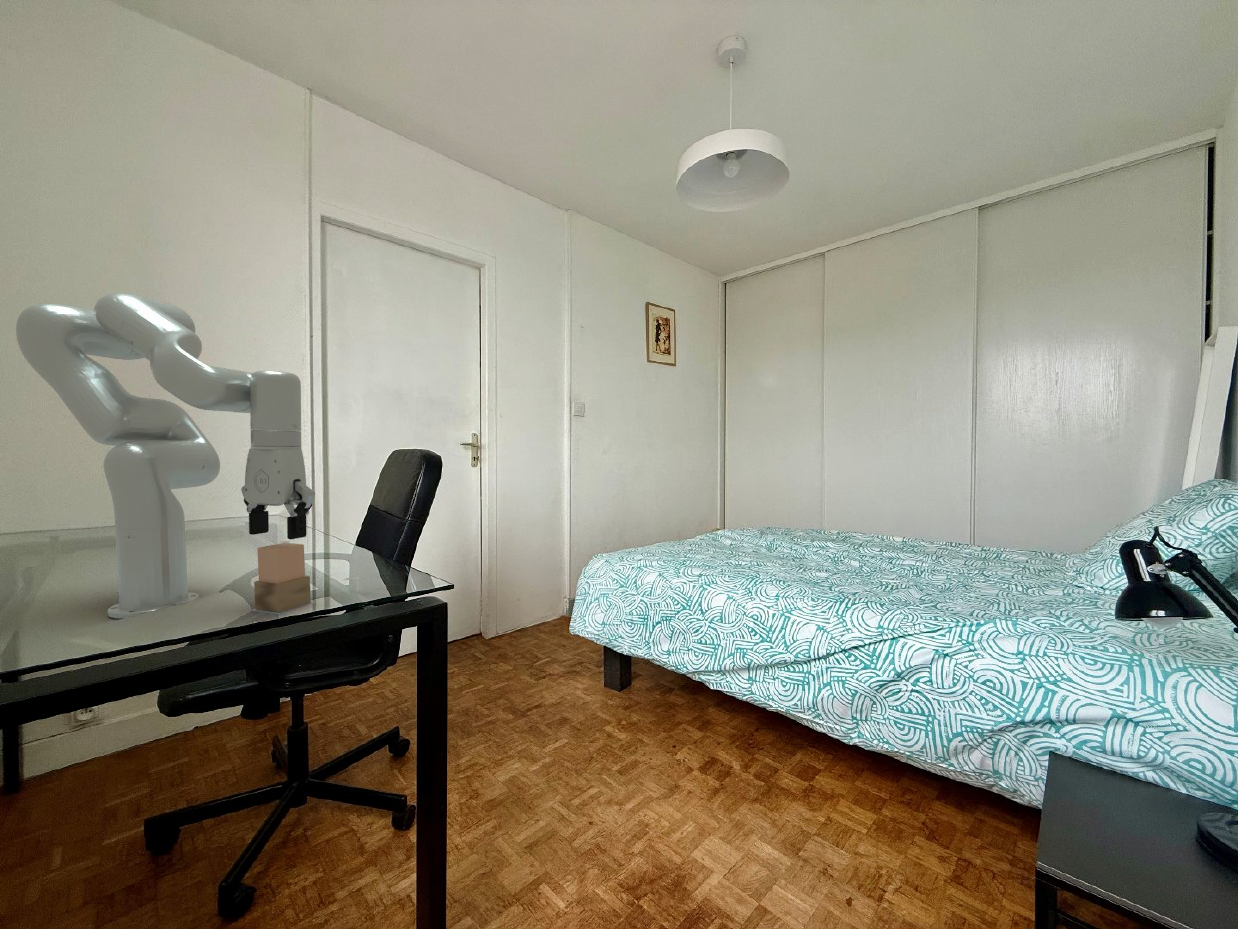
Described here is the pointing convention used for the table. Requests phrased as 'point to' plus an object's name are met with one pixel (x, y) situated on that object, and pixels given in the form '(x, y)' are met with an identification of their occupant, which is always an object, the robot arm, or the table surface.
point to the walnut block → (282, 595)
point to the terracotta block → (281, 562)
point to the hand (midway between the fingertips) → (277, 535)
